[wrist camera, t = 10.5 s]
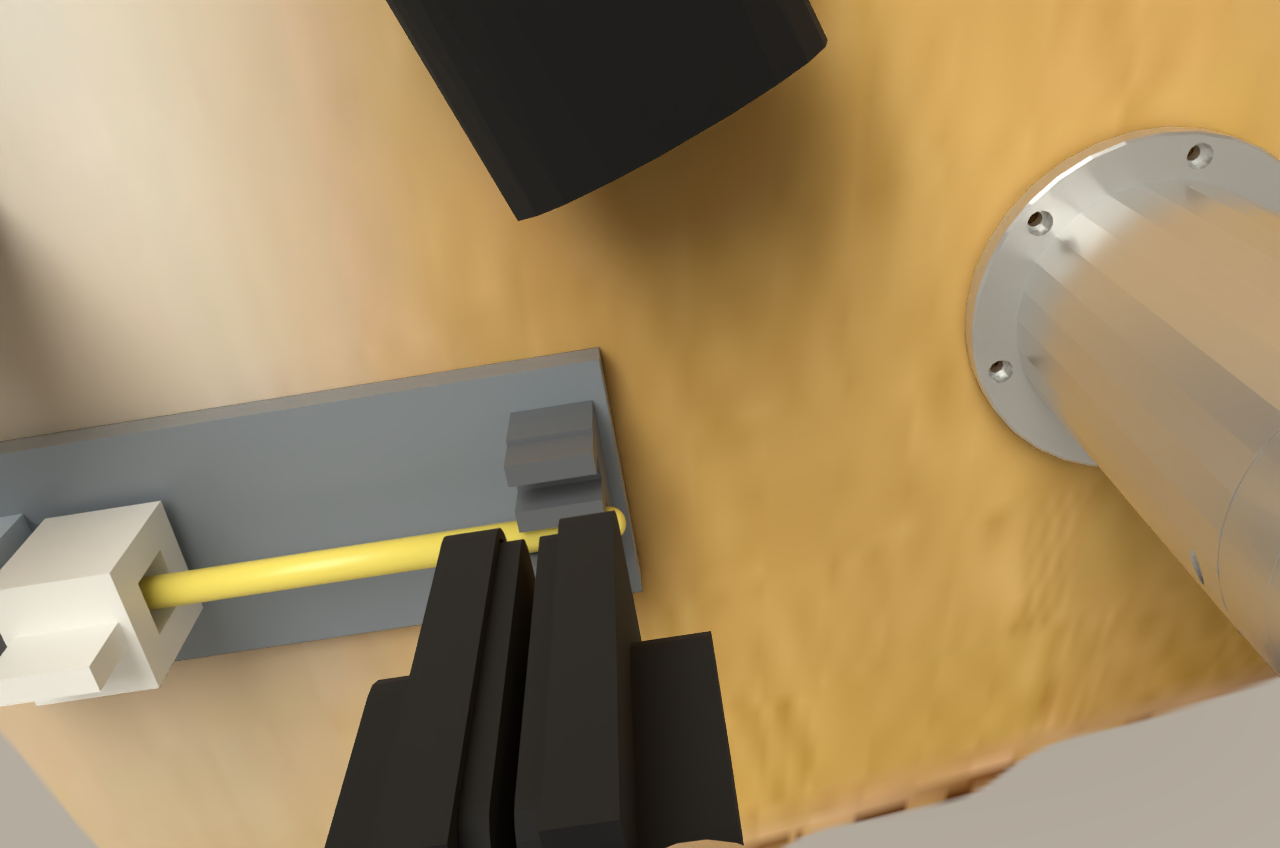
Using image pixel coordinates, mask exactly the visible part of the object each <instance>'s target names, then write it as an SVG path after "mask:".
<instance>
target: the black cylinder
mask: <svg viewBox="0 0 1280 848" xmlns="http://www.w3.org/2000/svg"><path fill="white" fill-rule="evenodd" d="M386 1H387V3H388V5H389V6H390V8H391V10H392V11H393V13H394V15H395V16H396V18H397V20H398V21H399V23H400V25H401V26H402V28H403V30H404V31H405V33H406V35H407V36H408V38H409V40H410V41H411V43H412V45H413V46H414V48H415V50H416V51H417V53H418V55H419V56H420V58H421V60H422V61H423V63H424V65H425V66H426V68H427V70H428V71H429V73H430V75H431V76H432V78H433V80H434V81H435V83H436V85H437V86H438V88H439V90H440V91H441V93H442V95H443V96H444V98H445V100H446V101H447V103H448V105H449V106H450V108H451V110H452V111H453V113H454V115H455V116H456V118H457V120H458V121H459V123H460V125H461V126H462V128H463V130H464V131H465V133H466V135H467V136H468V138H469V140H470V142H471V143H472V145H473V147H474V148H475V150H476V152H477V153H478V155H479V157H480V158H481V160H482V162H483V163H484V165H485V167H486V168H487V170H488V172H489V173H490V175H491V177H492V178H493V180H494V182H495V183H496V185H497V187H498V188H499V190H500V192H501V193H502V195H503V197H504V198H505V200H506V202H507V203H508V205H509V207H510V208H511V210H512V212H513V213H514V215H515V217H516V218H517V220H518V221H520V220H524V219H528V218H531V217H535V216H538V215H541V214H543V213H546V212H548V211H550V210H553V209H555V208H558V207H560V206H563V205H565V204H567V203H569V202H571V201H573V200H575V199H578V198H580V197H582V196H584V195H586V194H588V193H590V192H592V191H594V190H596V189H598V188H600V187H602V186H604V185H606V184H608V183H610V182H612V181H614V180H616V179H618V178H620V177H622V176H623V175H625V174H627V173H629V172H631V171H633V170H635V169H637V168H638V167H640V166H642V165H644V164H646V163H648V162H650V161H652V160H653V159H655V158H657V157H659V156H661V155H663V154H664V153H666V152H668V151H670V150H671V149H673V148H675V147H676V146H678V145H680V144H681V143H683V142H685V141H687V140H688V139H690V138H692V137H693V136H695V135H697V134H699V133H700V132H702V131H704V130H705V129H707V128H709V127H711V126H712V125H714V124H716V123H717V122H719V121H721V120H723V119H724V118H726V117H728V116H729V115H731V114H733V113H734V112H736V111H737V110H739V109H740V108H742V107H744V106H745V105H747V104H748V103H750V102H751V101H753V100H754V99H756V98H757V97H759V96H761V95H762V94H764V93H765V92H767V91H768V90H770V89H771V88H773V87H774V86H776V85H778V84H779V83H780V82H782V81H783V80H785V79H786V78H787V77H789V76H790V75H792V74H793V73H794V72H796V71H797V70H799V69H800V68H801V67H803V66H804V65H806V64H807V63H808V62H810V61H811V60H812V59H813V58H814V57H815V56H816V55H817V54H818V53H819V52H820V51H821V50H823V49H824V48H825V47H826V44H827V38H826V36H825V34H824V31H823V29H822V27H821V25H820V23H819V21H818V19H817V17H816V14H815V12H814V10H813V8H812V6H811V4H810V2H809V0H386Z"/></svg>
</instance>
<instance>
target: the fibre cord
mask: <svg viewBox="0 0 1280 848" xmlns="http://www.w3.org/2000/svg"><path fill="white" fill-rule="evenodd" d="M613 510H615V512H616V515H617V518H618V523H619V527H620V532H621V535H622V534H623V533H624V531H625V528H626V519H625V516H624V514H623V513H622V512H621V511H620V510H619V509H617V508H615V507H606V512H607V511H613ZM495 528H501V529H502V530H503V532H504V534H505V536H506V539H507V541H514V540H520V539H524V540H525V541H526V544H527V546H528V550H529V553H533V552H538V547H539V539H540V537H541V536H547V535H553V534H558V527H555V528H548V529H542V530H535V531H529V532H522V533H519V529H518V525H517V521H509V522H503V523H496V524H489V525H483V526H476V527H470V528H463V529H457V530H450V531H443V532H437V533H430V534H424V535H417V536H411V537H404V538H398V539H391V540H384V541H378V542H371V543H365V544H358V545H352V546H345V547H338V548H332V549H325V550H319V551H312V552H306V553H299V554H293V555H286V556H279V557H273V558H266V559H260V560H253V561H247V562H240V563H233V564H227V565H220V566H214V567H207V568H201V569H194V570H187V571H181V572H174V573H168V574H161V575H155V576H148V577H142V578H141V580H140V581H139V583H138V585H139V587H140V590H141V592H142V595H143V597H144V599H145V602H146V604H147V606H148V609H149V610H155V609H162V608H169V607H175V606H182V605H188V604H195V603H202V602H208V601H215V600H222V599H228V598H235V597H241V596H248V595H255V594H261V593H268V592H275V591H281V590H288V589H294V588H301V587H308V586H314V585H321V584H327V583H334V582H341V581H347V580H354V579H361V578H367V577H374V576H380V575H387V574H394V573H400V572H407V571H413V570H420V569H427V568H433V567H436V564H437V560H438V556H439V552H440V548H441V544H442V541H443V538H444V537H445V536H449V535H456V534H462V533H469V532H475V531H482V530H489V529H495Z"/></svg>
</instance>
